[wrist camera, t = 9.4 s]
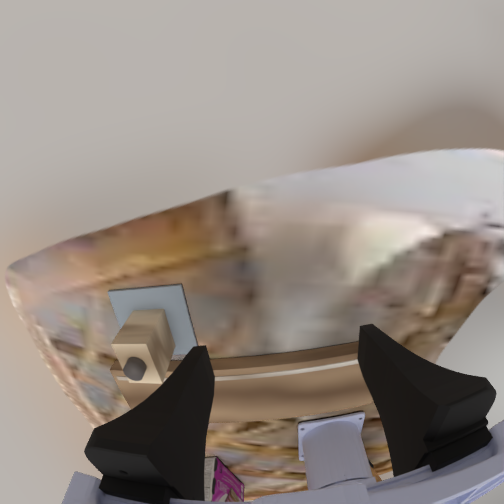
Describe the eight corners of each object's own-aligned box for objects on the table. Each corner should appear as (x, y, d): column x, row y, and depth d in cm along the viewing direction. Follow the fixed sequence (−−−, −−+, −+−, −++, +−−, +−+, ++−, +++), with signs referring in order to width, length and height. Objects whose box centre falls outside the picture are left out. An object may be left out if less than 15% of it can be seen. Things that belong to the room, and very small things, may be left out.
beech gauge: (175, 345, 25) (159, 392, 19) (146, 346, 25) (125, 390, 20) (164, 308, 24) (141, 352, 18) (132, 310, 24) (106, 351, 18)
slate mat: (199, 351, 26) (199, 353, 25) (132, 353, 26) (131, 354, 26) (181, 283, 23) (180, 285, 23) (108, 290, 24) (107, 291, 23)
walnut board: (367, 393, 28) (371, 403, 26) (141, 410, 29) (137, 420, 27) (376, 337, 25) (382, 348, 24) (115, 360, 26) (109, 370, 25)
